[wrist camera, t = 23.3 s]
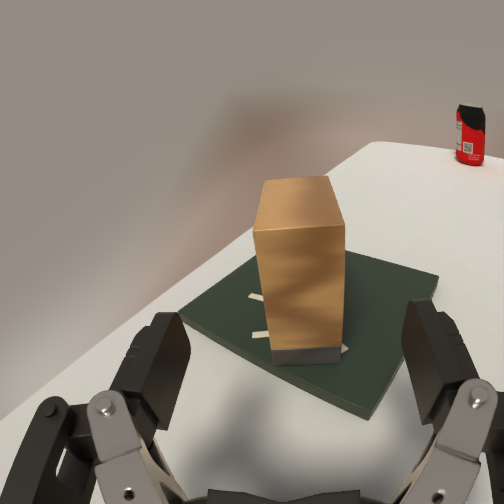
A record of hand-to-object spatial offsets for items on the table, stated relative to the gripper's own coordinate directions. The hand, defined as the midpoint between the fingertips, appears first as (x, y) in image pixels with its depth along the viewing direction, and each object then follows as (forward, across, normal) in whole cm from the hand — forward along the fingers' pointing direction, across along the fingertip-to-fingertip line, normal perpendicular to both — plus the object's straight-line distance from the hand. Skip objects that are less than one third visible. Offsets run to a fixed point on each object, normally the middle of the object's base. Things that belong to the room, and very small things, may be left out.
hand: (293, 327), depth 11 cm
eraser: (+8, 0, +7) cm, 11 cm away
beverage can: (+50, -37, +8) cm, 62 cm away
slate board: (+11, -1, +8) cm, 14 cm away
